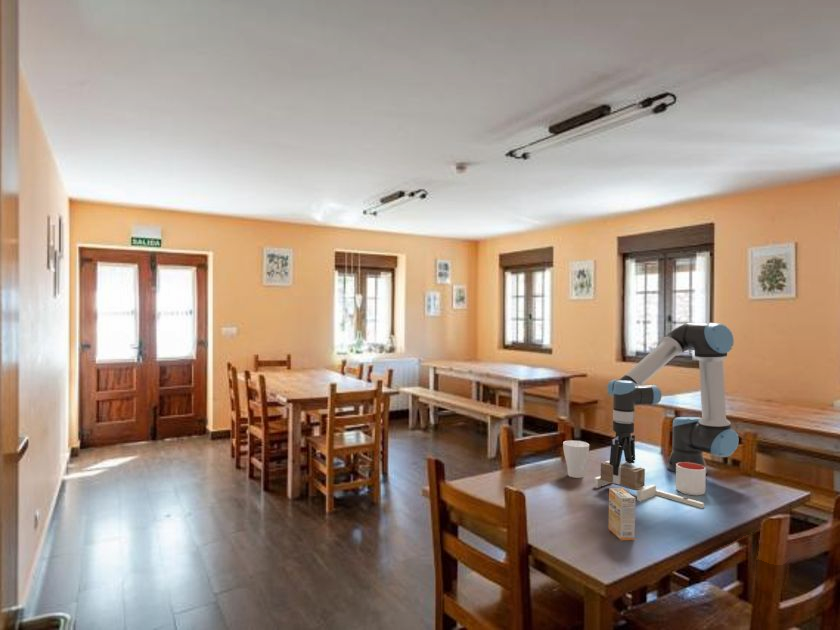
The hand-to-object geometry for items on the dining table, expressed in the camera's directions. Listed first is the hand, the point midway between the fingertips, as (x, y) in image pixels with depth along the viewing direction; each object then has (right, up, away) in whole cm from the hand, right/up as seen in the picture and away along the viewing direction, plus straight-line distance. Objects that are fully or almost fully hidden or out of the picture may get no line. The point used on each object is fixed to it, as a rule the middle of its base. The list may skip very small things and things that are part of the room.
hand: (622, 481), depth 196 cm
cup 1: (-12, -4, +18) cm, 22 cm away
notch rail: (+7, -4, -4) cm, 9 cm away
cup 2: (+26, -5, +1) cm, 27 cm away
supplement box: (-15, -4, -38) cm, 41 cm away
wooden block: (0, 0, 0) cm, 1 cm away
